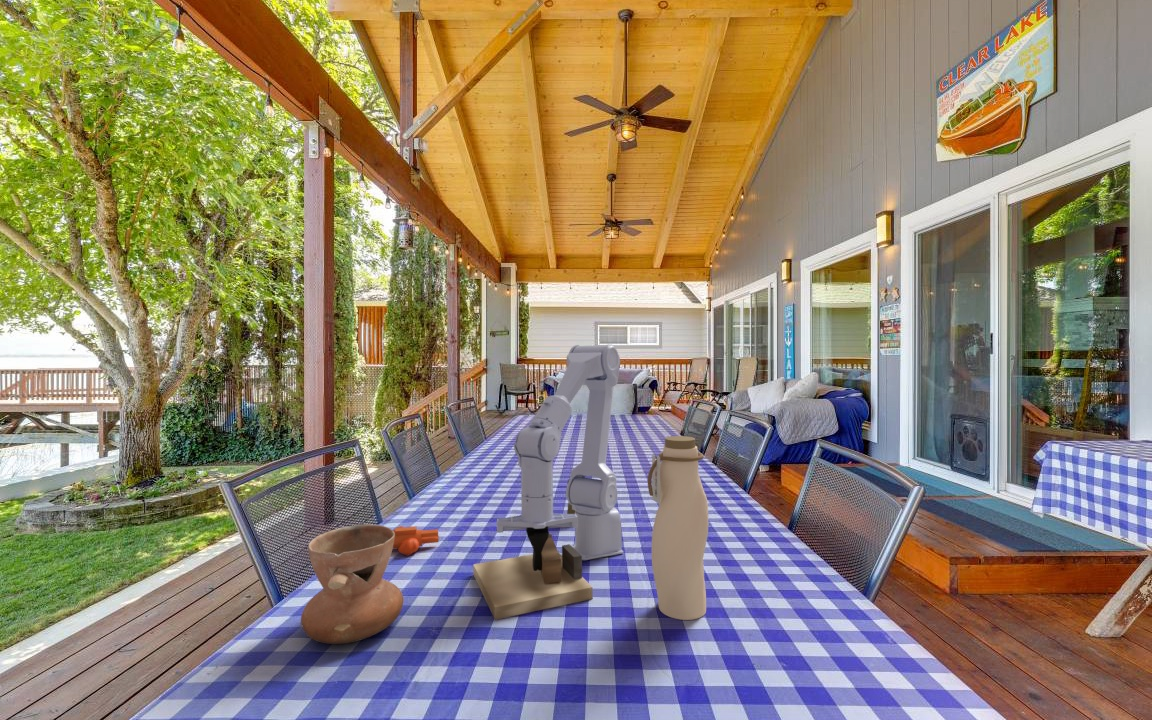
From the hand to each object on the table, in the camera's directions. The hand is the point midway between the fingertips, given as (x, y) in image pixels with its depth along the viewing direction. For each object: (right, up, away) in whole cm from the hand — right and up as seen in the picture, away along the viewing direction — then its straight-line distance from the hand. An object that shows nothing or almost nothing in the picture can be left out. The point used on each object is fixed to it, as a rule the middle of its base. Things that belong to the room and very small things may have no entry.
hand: (537, 568), depth 91 cm
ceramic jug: (-28, -4, -13) cm, 31 cm away
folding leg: (+2, -1, +3) cm, 4 cm away
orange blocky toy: (-29, -4, +18) cm, 34 cm away
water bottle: (+24, -3, -9) cm, 26 cm away
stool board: (-2, -3, 0) cm, 4 cm away
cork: (+7, -3, +36) cm, 37 cm away
